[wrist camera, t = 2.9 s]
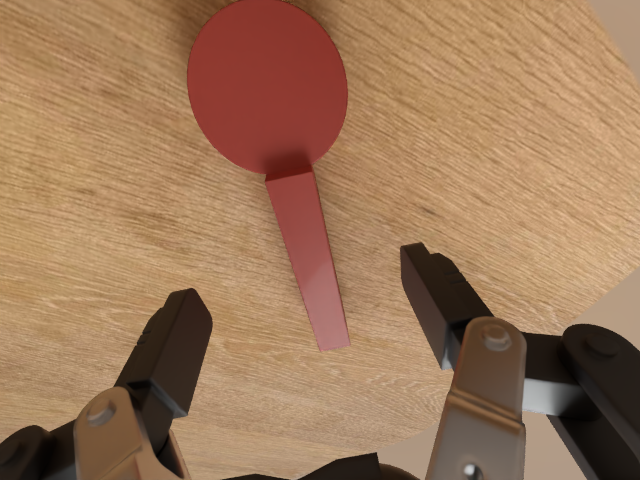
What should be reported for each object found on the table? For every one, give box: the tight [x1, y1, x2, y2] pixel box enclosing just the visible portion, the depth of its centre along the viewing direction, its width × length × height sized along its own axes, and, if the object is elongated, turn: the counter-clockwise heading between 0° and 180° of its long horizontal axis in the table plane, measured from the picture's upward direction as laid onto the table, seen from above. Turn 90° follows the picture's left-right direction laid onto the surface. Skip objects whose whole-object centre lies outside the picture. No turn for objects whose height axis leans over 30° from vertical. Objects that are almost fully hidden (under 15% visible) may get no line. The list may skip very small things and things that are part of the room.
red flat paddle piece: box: [187, 0, 350, 351], centre depth 15 cm, size 19×6×3 cm, turn 11°
